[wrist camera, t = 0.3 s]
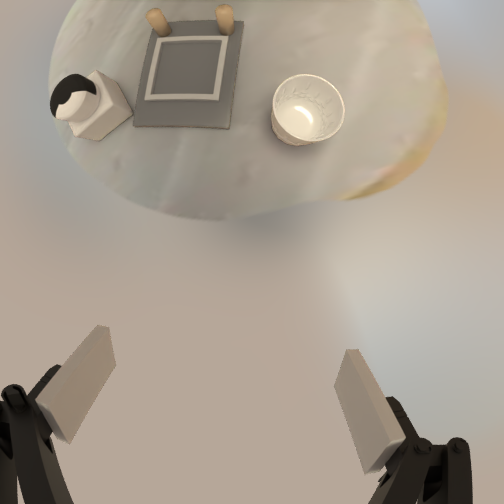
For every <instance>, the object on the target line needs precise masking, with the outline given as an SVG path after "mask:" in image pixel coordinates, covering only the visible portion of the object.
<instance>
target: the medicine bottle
mask: <svg viewBox="0 0 504 504" xmlns="http://www.w3.org/2000/svg"><path fill="white" fill-rule="evenodd" d="M50 109H51V112H52V114H53V116H54V117H55V118H57V119H61V120H65V121H68V122H69V125H70V127H71V129H72V132H73V134H74V136H75V137H79V138H85V139H91V140H97V141H100V140H101V139H102V138H104V137H105V136H106V135H107V134H108V133H110V132H111V131H112V130H113V129H115V128H116V127H117V126H118V125H120V124H121V123H122V122H124V121H125V120H126V119H127V118H129V117H130V116H131V115H133V112H132V110H131V108H130V106H129V104H128V103H127V101H126V99H125V97H124V95H123V93H122V91H121V90H120V88H119V86H118V84H117V83H116V82H115V81H113V80H112V79H110V78H109V77H107V76H105V75H104V74H102V73H100V72H99V71H97V70H95V71H94V72H93V73H91V74H90V75H89V76H88V77H87V78H85V77H84V76H82V75H79V74H72V75H69V76H67V77H66V78H64V79H63V80H62V81H60V82H59V84H58V85H57V86H56V88H55V89H54V91H53V93H52V96H51V100H50Z"/></svg>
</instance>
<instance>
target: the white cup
mask: <svg viewBox="0 0 504 504" xmlns="http://www.w3.org/2000/svg"><path fill="white" fill-rule="evenodd" d="M344 115H345V108H344V103H343V100H342V97H341V95H340V94H339V92H338V91H337V89H336V88H335V87H334V86H333V85H332V84H331V83H329V82H328V81H327V80H325V79H323V78H321V77H318V76H315V75H310V74H300V75H295V76H292V77H290V78H288V79H286V80H285V81H283V82H282V83H281V84H280V85H279V87H278V88H277V90H276V92H275V94H274V97H273V104H272V111H271V122H272V129H273V131H274V133H275V134H276V136H277V137H278V139H280V140H281V141H283V142H284V143H286V144H289V145H295V146H300V145H307V144H312V143H315V142H318V141H321V140H325V139H327V138H329V137H331V136H332V135H334V134H335V133H336V132H337V131H338V130H339V128H340V127H341V125H342V123H343V120H344Z"/></svg>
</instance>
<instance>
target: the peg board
mask: <svg viewBox="0 0 504 504" xmlns="http://www.w3.org/2000/svg"><path fill="white" fill-rule="evenodd" d="M215 13H216V17H217V20H201V21H179V22H167V21H166V19H165V17H164V15H163V14H162V12H161V10H160V9H158V8H154V9H151V10H150V11H148V12H147V14H146V19H147V20H148V22H149V23H150V24H151V26H152V27H153V29H152V33H151V37H150V40H149V44H148V48H147V52H146V56H145V61H144V65H143V70H142V74H141V79H140V84H139V90H138V95H137V101H136V107H135V113H134V120H133V126H134V127H201V128H219V129H229V127H230V118H231V110H232V102H233V95H234V87H235V80H236V73H237V66H238V59H239V52H240V46H241V39H242V33H243V27H244V21H234V19H233V10H232V7H231V6H229V5H220V6H218V7H217V8H216V9H215Z"/></svg>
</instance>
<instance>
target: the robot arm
mask: <svg viewBox="0 0 504 504" xmlns="http://www.w3.org/2000/svg"><path fill="white" fill-rule="evenodd" d="M115 366H116V362H115V358H114V353H113V348H112V342H111V336H110V330H109V327H105V326H100V325H97V326H96V327H95V328H94V330H93V331H92V332H91V333H90V334H89V335H88V337H86V339H85V340H84V341H83V342H82V343H81V344H80V345H79V347H78V348H77V349H76V350H75V351H74V352H73V354H72V355H71V356H70V357H69V358H68V359H67V361H66V362H65V363H64V364H63V365H62V366H60V365H55V366H53V367H52V368H50V369H49V370H48V371H47V372H46V373H45V375H44V376H43V377H42V378H41V379H40V381H39V382H38V383H37V384H36V385H35V387H34V388H33V389H32V390H31V391H30V393H29V394H28V395H26V393H25V391H24V389H23V388H22V387H21V386H20V385H17V384H12V385H8V386H7V387H5V388H4V389H3V391H2V393H1V396H2V398H3V400H4V401H0V504H18V497H17V476H18V480H19V484H20V488H21V492H22V495H23V499H24V502H25V504H74V503H73V501H72V499H71V496H70V494H69V491H68V489H67V486H66V484H65V481H64V478H63V475H62V472H61V469H60V466H59V463H58V460H57V457H56V453H55V450H54V446H53V443H52V439H51V437H50V435H51V433H52V432H53V433H54V434H55V436H56V438H57V439H59V440H61V441H63V442H66V443H68V444H70V443H71V441H72V440H73V438H74V436H75V434H76V432H77V430H78V429H79V427H80V425H81V423H82V422H83V420H84V418H85V416H86V415H87V413H88V411H89V409H90V408H91V406H92V404H93V402H94V401H95V399H96V397H97V396H98V394H99V392H100V391H101V389H102V387H103V386H104V384H105V382H106V381H107V379H108V378H109V376H110V374H111V372H112V371H113V369H114V368H115ZM334 387H335V390H336V393H337V395H338V398H339V401H340V404H341V407H342V409H343V412H344V415H345V418H346V421H347V424H348V427H349V429H350V432H351V435H352V438H353V441H354V444H355V447H356V450H357V453H358V456H359V459H360V462H361V465H362V468H363V471H364V474H365V475H366V474H371V473H375V472H379V471H380V470H381V469H382V468H383V467H384V466H385V467H386V469H387V471H386V473H385V474H384V475H383V476H382V477H381V478H380V479H379V481H378V482H380V481H381V482H380V484H379V486H378V487H377V489H376V491H375V493H374V494H373V496H372V498H371V500H370V501H369V503H368V504H416V502H417V504H473V496H472V495H473V494H472V471H471V459H470V449H469V445H468V443H467V442H466V441H465V440H464V439H462V438H458V437H456V438H452V439H451V440H450V441H449V442H448V443H447V444H446V445H432V443H431V442H430V441H428V440H427V439H425V438H420V437H419V436H418V434H417V433H416V431H415V429H414V427H413V425H412V423H411V421H410V420H409V418H408V417H407V414H406V413H405V411H404V409H403V407H402V406H401V404H400V402H399V401H397V400H396V399H395V398H394V397H393V396H392V397H385V396H384V394H383V393H382V391H381V389H380V387H379V385H378V383H377V382H376V380H375V378H374V376H373V374H372V373H371V371H370V369H369V367H368V365H367V364H366V362H365V360H364V358H363V356H362V355H361V353H360V351H359V350H358V349H356V350H346V352H345V355H344V358H343V361H342V364H341V367H340V371H339V373H338V377H337V379H336V382H335V385H334ZM417 499H418V501H417Z"/></svg>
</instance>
